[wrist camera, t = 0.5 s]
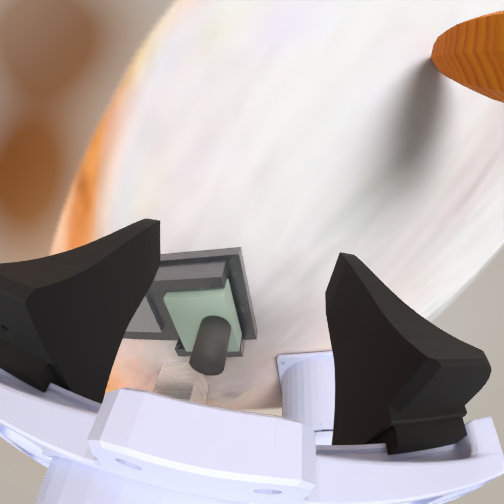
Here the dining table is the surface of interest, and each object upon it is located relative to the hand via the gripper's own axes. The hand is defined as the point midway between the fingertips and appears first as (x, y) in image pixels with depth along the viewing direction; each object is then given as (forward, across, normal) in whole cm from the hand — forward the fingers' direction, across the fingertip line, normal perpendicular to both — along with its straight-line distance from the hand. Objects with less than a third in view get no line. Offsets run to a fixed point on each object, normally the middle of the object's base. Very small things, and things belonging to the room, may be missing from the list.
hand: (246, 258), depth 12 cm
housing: (+10, +5, +24) cm, 26 cm away
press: (+10, +6, +12) cm, 17 cm away
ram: (+8, +2, +11) cm, 14 cm away
